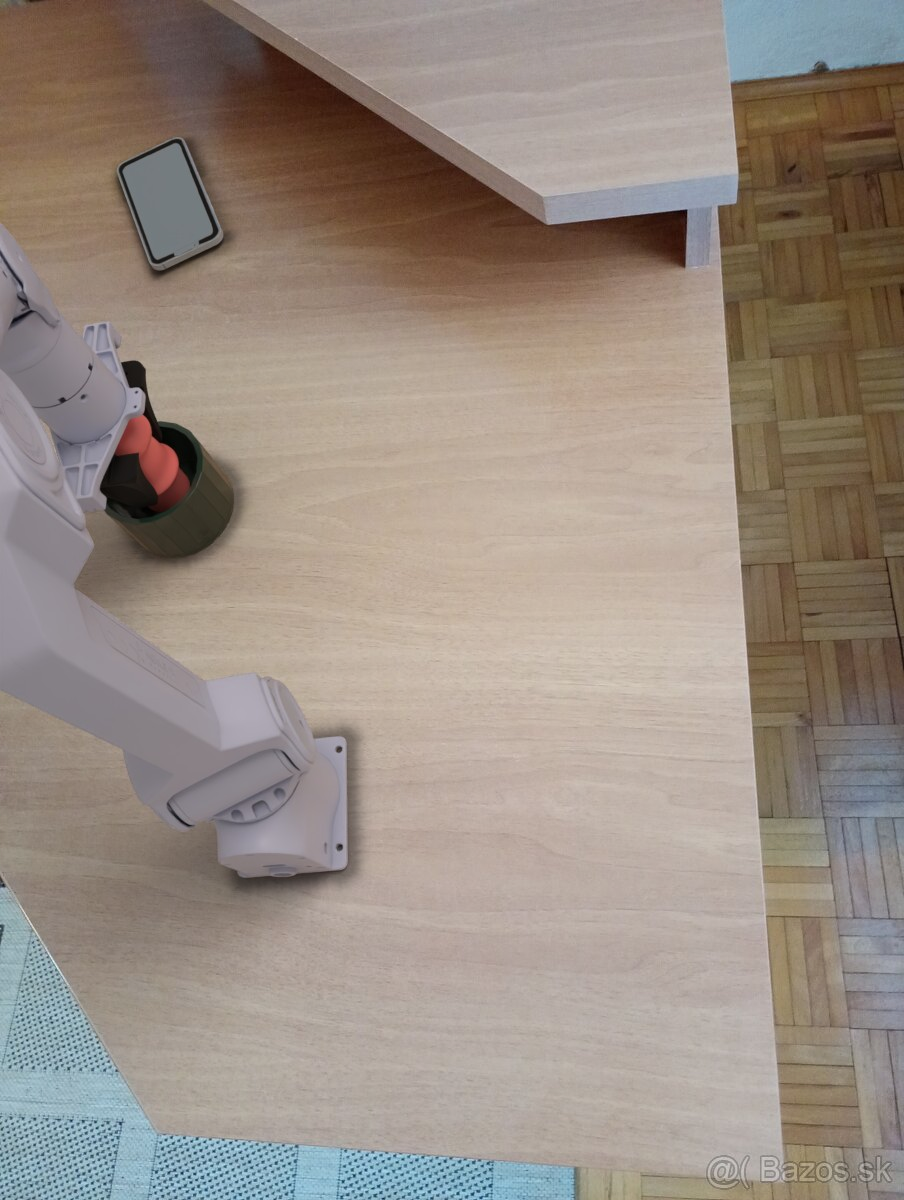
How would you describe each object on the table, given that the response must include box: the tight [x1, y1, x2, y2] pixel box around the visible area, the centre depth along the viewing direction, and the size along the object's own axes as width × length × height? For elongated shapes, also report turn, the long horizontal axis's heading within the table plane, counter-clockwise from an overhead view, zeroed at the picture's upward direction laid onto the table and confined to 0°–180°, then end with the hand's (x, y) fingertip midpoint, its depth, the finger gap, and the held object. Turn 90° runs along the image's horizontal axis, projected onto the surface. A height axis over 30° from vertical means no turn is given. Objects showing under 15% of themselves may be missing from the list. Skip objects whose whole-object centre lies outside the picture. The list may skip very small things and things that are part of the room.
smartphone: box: [116, 136, 224, 271], centre depth 102 cm, size 7×1×15 cm
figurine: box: [114, 415, 190, 512], centre depth 79 cm, size 5×5×15 cm
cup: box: [103, 420, 235, 559], centre depth 86 cm, size 9×9×6 cm
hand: (148, 471), depth 83 cm, fingers closed on figurine, 5 cm apart
